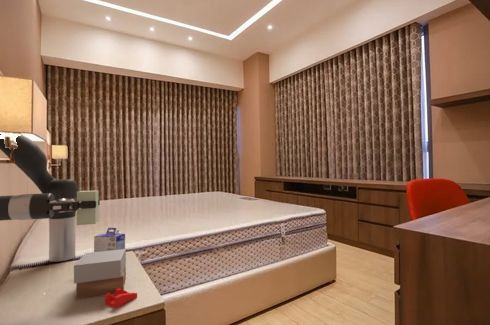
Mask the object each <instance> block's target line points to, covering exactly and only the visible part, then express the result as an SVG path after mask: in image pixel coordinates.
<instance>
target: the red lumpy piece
mask: <svg viewBox="0 0 490 325" xmlns="http://www.w3.org/2000/svg"><path fill="white" fill-rule="evenodd" d="M137 297H138V293H137V292H128V291H127V290H125V289H124V290H123V289H120V288H117V289H115V293H114V294H110V293H107V294H105V295H104V305H106V306H107V307H112V308H116V309H118V308H121V307H122V306H123V305H125V304H126V303H128V302H130V301H132V300H134V299H136V298H137Z"/></svg>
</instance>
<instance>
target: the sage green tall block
mask: <svg viewBox="0 0 490 325" xmlns="http://www.w3.org/2000/svg"><path fill="white" fill-rule="evenodd" d="M98 199H99V190H98V189H97V190H80V191H79V190H78V192H77V201H96V208H87V209H80V210H76V226H85V225H86V226H87V225H96V224H97V223H99V206H98Z"/></svg>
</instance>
